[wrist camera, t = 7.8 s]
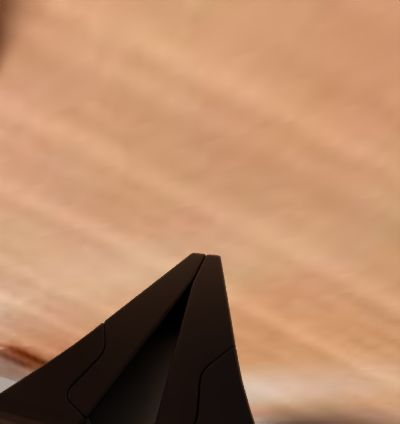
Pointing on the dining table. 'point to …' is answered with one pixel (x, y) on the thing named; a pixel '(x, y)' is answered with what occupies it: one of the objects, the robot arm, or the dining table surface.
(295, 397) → the dining table surface
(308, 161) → the dining table surface
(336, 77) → the dining table surface
